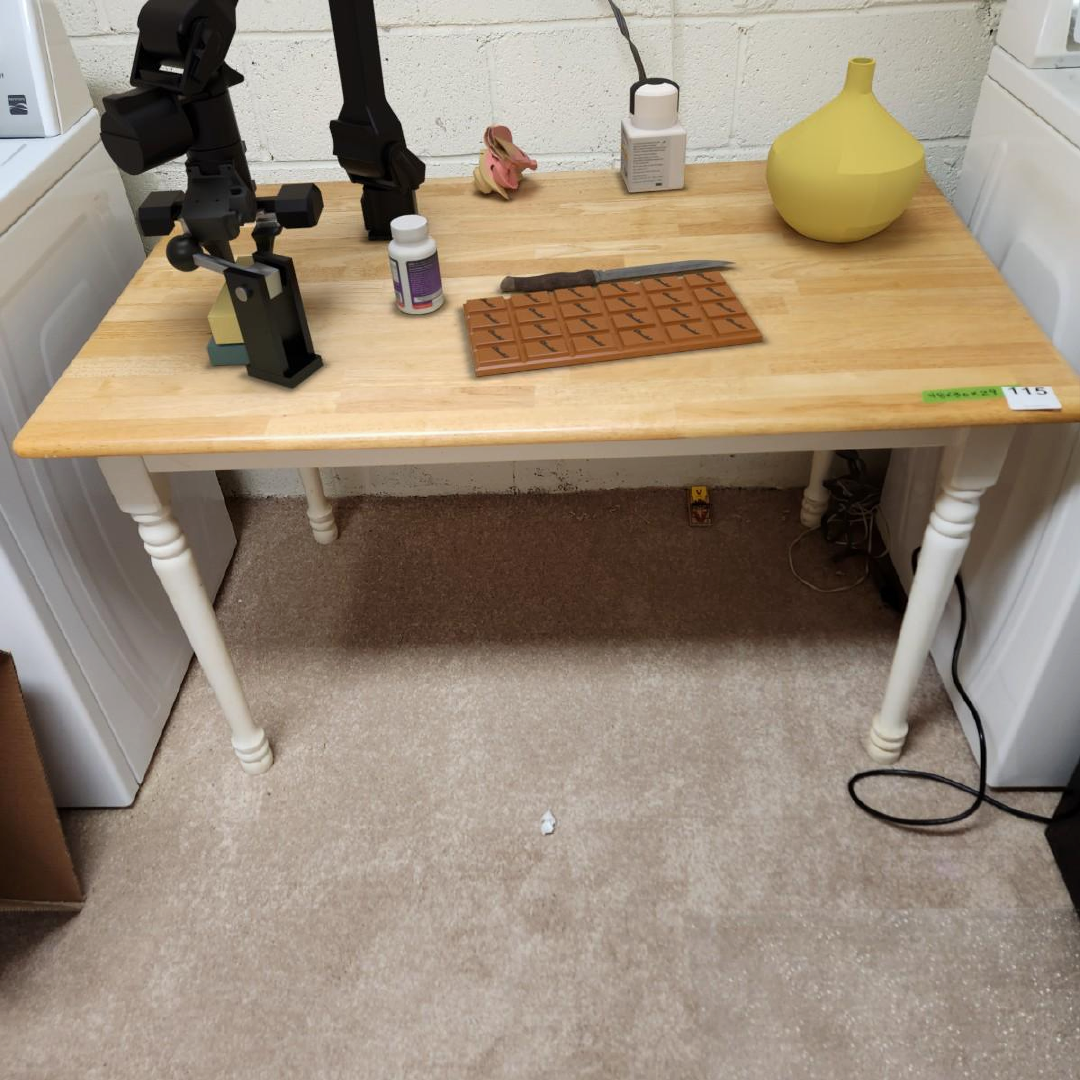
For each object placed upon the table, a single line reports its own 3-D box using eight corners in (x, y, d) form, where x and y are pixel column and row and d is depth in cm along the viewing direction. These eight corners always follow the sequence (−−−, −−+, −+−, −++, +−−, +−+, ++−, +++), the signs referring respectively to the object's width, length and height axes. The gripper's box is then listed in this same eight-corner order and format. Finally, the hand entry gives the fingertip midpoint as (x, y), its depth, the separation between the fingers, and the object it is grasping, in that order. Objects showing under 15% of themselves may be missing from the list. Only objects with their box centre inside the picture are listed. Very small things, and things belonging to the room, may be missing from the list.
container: (620, 173, 132) (621, 75, 124) (673, 168, 133) (678, 71, 124) (628, 193, 127) (630, 93, 118) (684, 189, 127) (690, 88, 118)
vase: (847, 273, 106) (881, 97, 93) (729, 226, 117) (744, 63, 104) (940, 226, 114) (983, 58, 102) (821, 186, 125) (846, 30, 112)
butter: (245, 282, 106) (237, 256, 104) (272, 280, 106) (265, 254, 104) (215, 344, 96) (207, 316, 94) (246, 342, 96) (238, 315, 94)
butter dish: (286, 298, 108) (281, 281, 107) (260, 363, 97) (255, 345, 96) (242, 300, 108) (237, 283, 107) (211, 366, 98) (205, 347, 96)
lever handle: (162, 272, 93) (153, 238, 91) (188, 257, 96) (180, 224, 93) (264, 310, 89) (257, 276, 87) (288, 294, 91) (283, 260, 89)
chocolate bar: (463, 309, 104) (462, 297, 103) (720, 279, 107) (721, 267, 106) (476, 376, 93) (475, 364, 93) (761, 341, 96) (763, 329, 95)
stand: (244, 377, 95) (212, 271, 88) (283, 350, 99) (255, 246, 91) (289, 391, 93) (260, 283, 85) (326, 362, 97) (302, 256, 89)
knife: (729, 258, 110) (730, 248, 110) (738, 271, 108) (739, 260, 107) (498, 285, 108) (497, 274, 107) (502, 298, 106) (501, 287, 105)
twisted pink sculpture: (475, 211, 126) (446, 147, 126) (507, 219, 135) (481, 160, 135) (529, 175, 122) (499, 108, 122) (559, 186, 131) (532, 124, 130)
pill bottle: (451, 296, 107) (441, 214, 100) (432, 318, 103) (421, 234, 97) (409, 290, 108) (396, 209, 102) (389, 312, 104) (374, 229, 98)
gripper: (94, 176, 88) (148, 323, 98) (289, 165, 87) (322, 314, 98) (130, 135, 96) (177, 275, 106) (308, 125, 96) (338, 266, 106)
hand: (251, 283), depth 104 cm, fingers closed on butter, 3 cm apart
